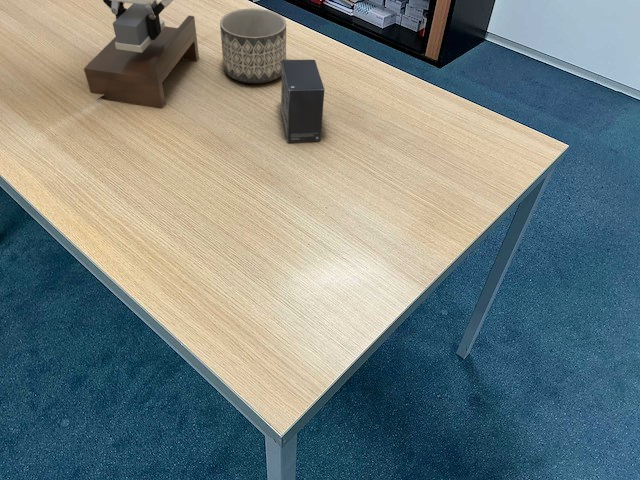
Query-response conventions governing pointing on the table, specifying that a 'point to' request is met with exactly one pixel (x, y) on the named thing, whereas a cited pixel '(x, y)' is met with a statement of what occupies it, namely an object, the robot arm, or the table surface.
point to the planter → (253, 45)
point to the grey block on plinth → (133, 29)
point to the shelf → (142, 67)
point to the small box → (301, 100)
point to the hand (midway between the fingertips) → (140, 33)
